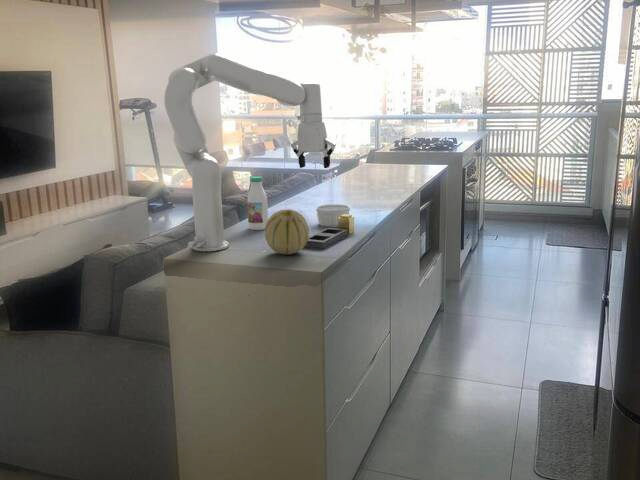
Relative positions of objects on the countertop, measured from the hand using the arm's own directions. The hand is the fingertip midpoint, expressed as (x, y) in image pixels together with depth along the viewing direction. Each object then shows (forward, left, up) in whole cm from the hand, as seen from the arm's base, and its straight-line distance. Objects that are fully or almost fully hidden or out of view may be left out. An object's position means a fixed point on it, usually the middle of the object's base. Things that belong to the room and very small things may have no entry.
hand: (314, 167), depth 220 cm
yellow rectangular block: (+7, -9, -25) cm, 27 cm away
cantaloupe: (-26, -3, -25) cm, 36 cm away
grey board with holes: (-7, -7, -25) cm, 27 cm away
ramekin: (+19, +2, -25) cm, 32 cm away
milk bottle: (+2, +26, -25) cm, 36 cm away
